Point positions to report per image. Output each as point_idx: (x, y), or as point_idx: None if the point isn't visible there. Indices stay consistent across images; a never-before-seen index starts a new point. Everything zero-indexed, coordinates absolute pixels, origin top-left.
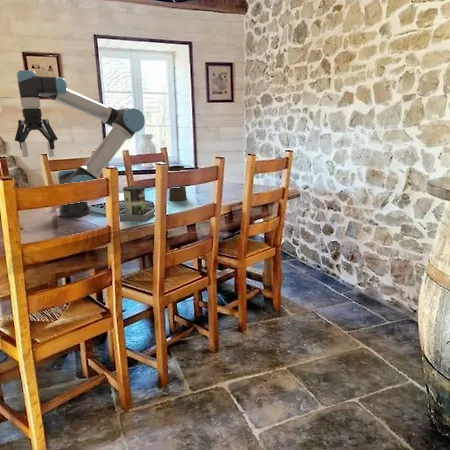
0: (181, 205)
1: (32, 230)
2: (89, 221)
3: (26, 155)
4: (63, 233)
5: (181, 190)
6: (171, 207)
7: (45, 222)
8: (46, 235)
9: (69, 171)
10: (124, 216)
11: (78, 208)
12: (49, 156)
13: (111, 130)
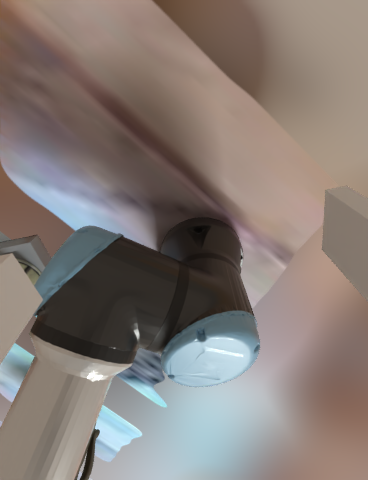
0: None
1: (162, 46)
2: (89, 204)
3: (331, 232)
4: (25, 58)
5: None
6: (31, 354)
7: (208, 150)
8: (52, 8)
9: (177, 341)
10: (2, 246)
11: (166, 250)
12: (5, 257)
13: None
